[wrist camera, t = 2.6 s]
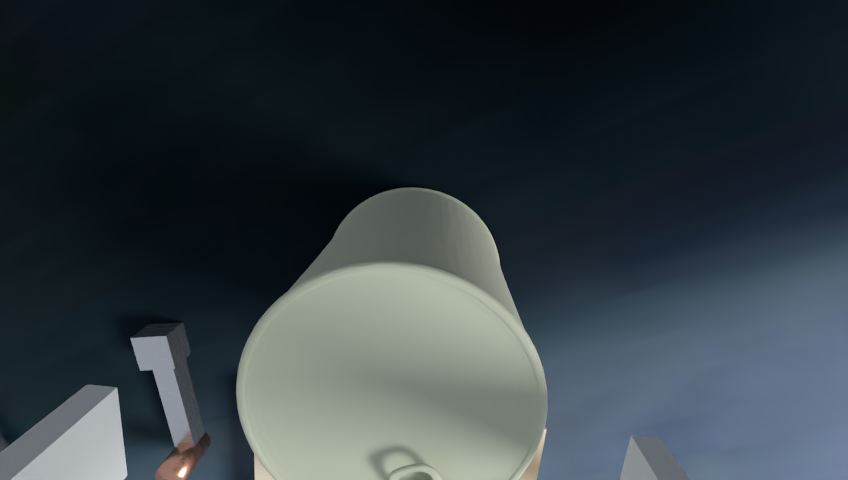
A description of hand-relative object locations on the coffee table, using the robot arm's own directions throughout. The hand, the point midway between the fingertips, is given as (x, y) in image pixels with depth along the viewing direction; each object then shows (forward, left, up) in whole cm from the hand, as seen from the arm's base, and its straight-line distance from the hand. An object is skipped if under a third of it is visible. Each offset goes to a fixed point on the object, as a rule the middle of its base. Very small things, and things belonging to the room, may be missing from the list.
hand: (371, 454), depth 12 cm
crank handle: (+9, -13, -13) cm, 20 cm away
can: (0, 0, -13) cm, 13 cm away
